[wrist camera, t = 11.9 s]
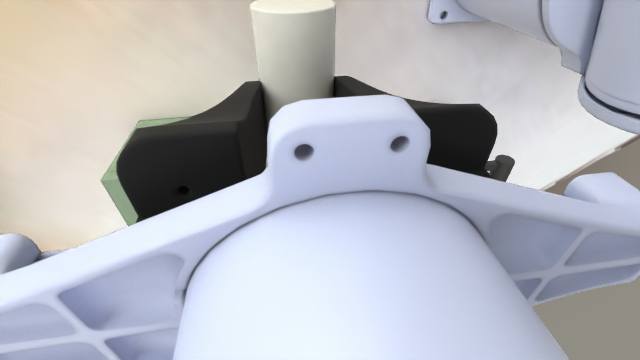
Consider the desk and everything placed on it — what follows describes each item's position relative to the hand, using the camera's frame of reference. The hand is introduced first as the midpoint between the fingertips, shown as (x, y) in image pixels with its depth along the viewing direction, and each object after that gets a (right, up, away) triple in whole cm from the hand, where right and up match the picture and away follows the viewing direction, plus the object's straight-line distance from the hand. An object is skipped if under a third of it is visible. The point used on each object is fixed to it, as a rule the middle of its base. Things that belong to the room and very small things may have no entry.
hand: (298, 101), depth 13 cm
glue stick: (0, +1, +1) cm, 1 cm away
